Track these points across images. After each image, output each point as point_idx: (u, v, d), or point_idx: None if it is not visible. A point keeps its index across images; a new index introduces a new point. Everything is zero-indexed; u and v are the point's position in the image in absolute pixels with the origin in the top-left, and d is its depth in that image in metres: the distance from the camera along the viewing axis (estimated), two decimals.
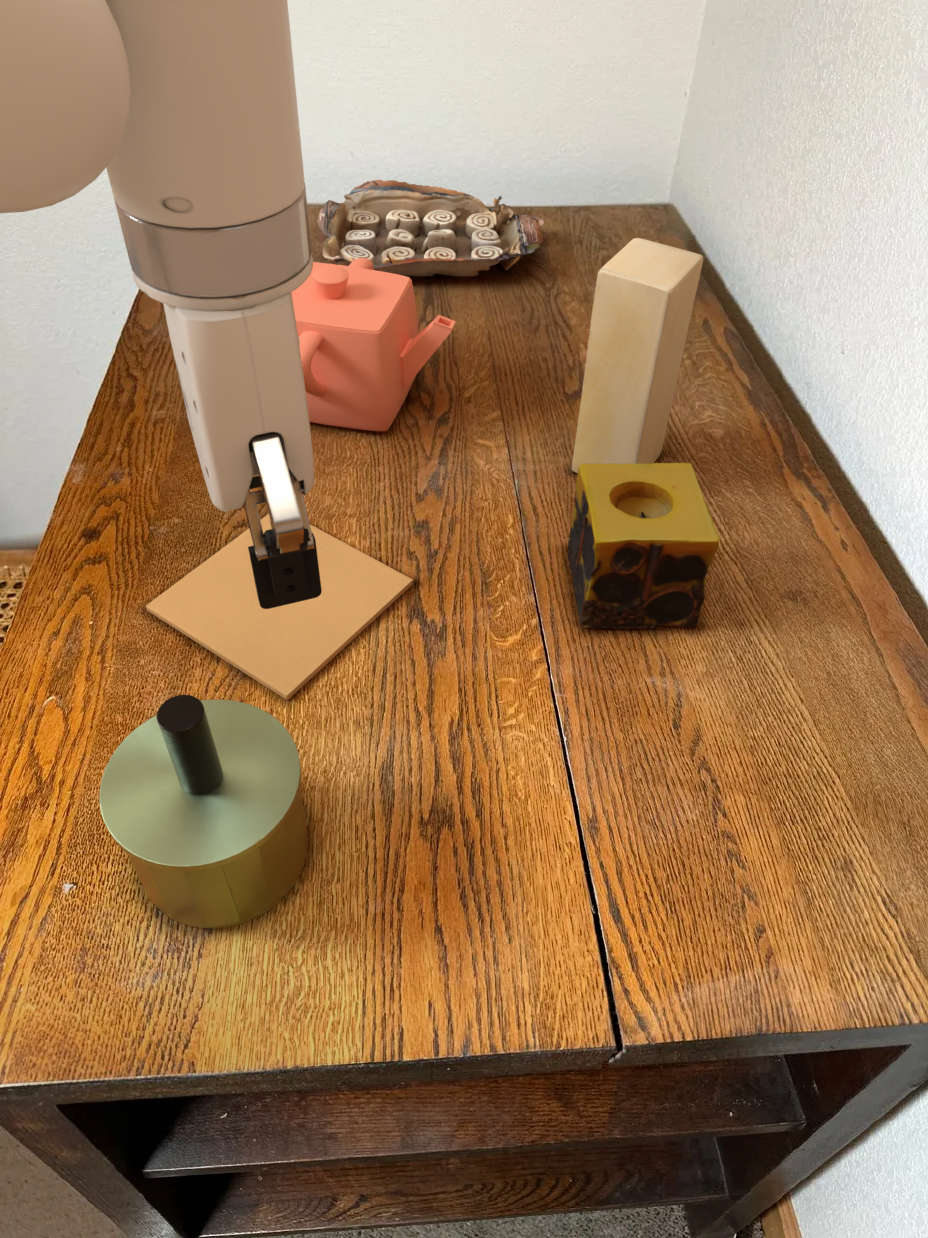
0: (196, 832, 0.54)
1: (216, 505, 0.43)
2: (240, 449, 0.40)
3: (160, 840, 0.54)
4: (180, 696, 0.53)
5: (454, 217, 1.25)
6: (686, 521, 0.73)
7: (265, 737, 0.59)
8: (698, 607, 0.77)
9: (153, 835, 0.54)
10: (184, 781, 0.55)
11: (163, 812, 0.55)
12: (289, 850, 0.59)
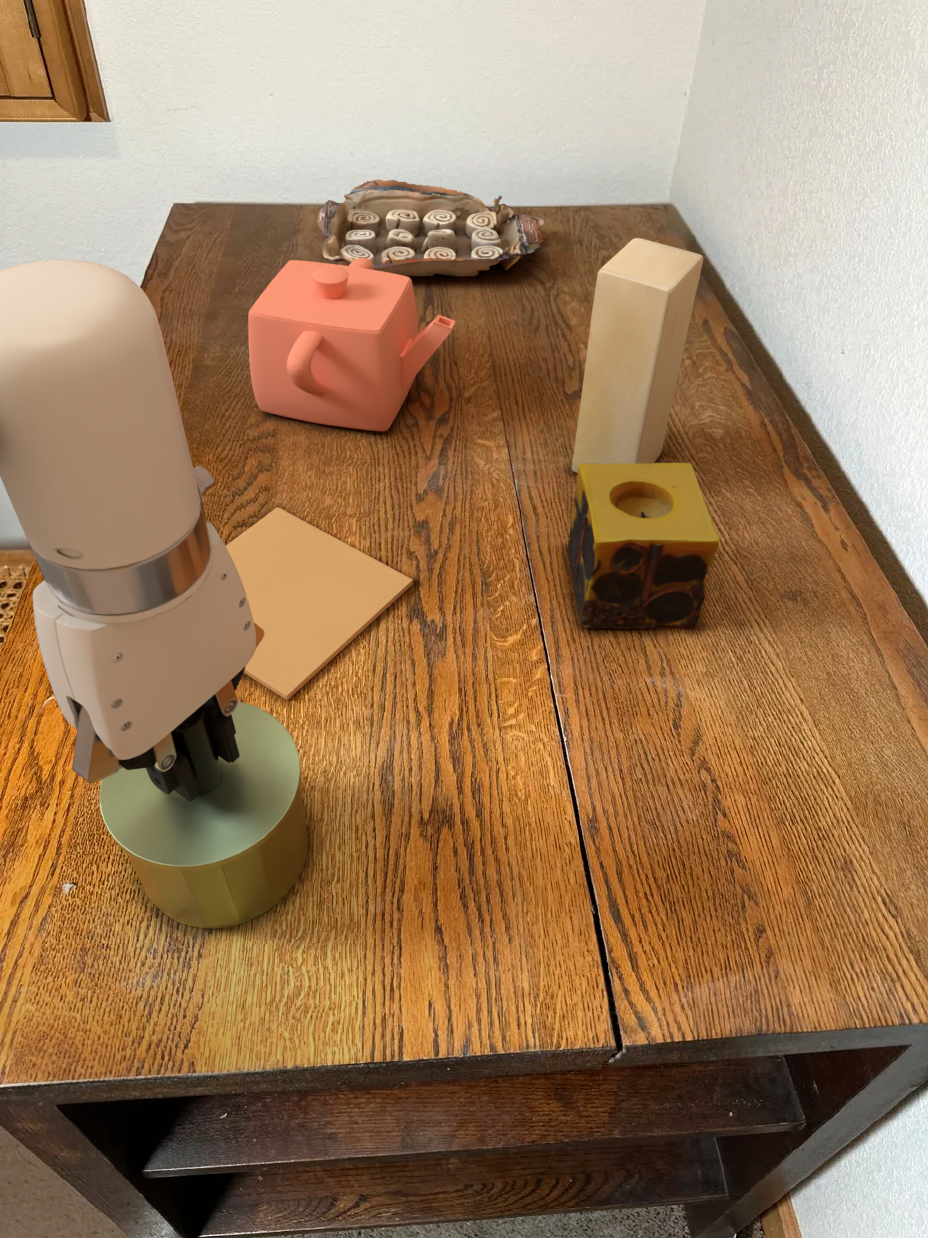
0: (196, 832, 0.54)
1: None
2: (62, 697, 0.46)
3: (160, 840, 0.54)
4: None
5: (454, 217, 1.25)
6: (686, 521, 0.73)
7: (265, 737, 0.59)
8: (698, 607, 0.77)
9: (153, 835, 0.54)
10: None
11: (163, 812, 0.55)
12: (289, 850, 0.59)
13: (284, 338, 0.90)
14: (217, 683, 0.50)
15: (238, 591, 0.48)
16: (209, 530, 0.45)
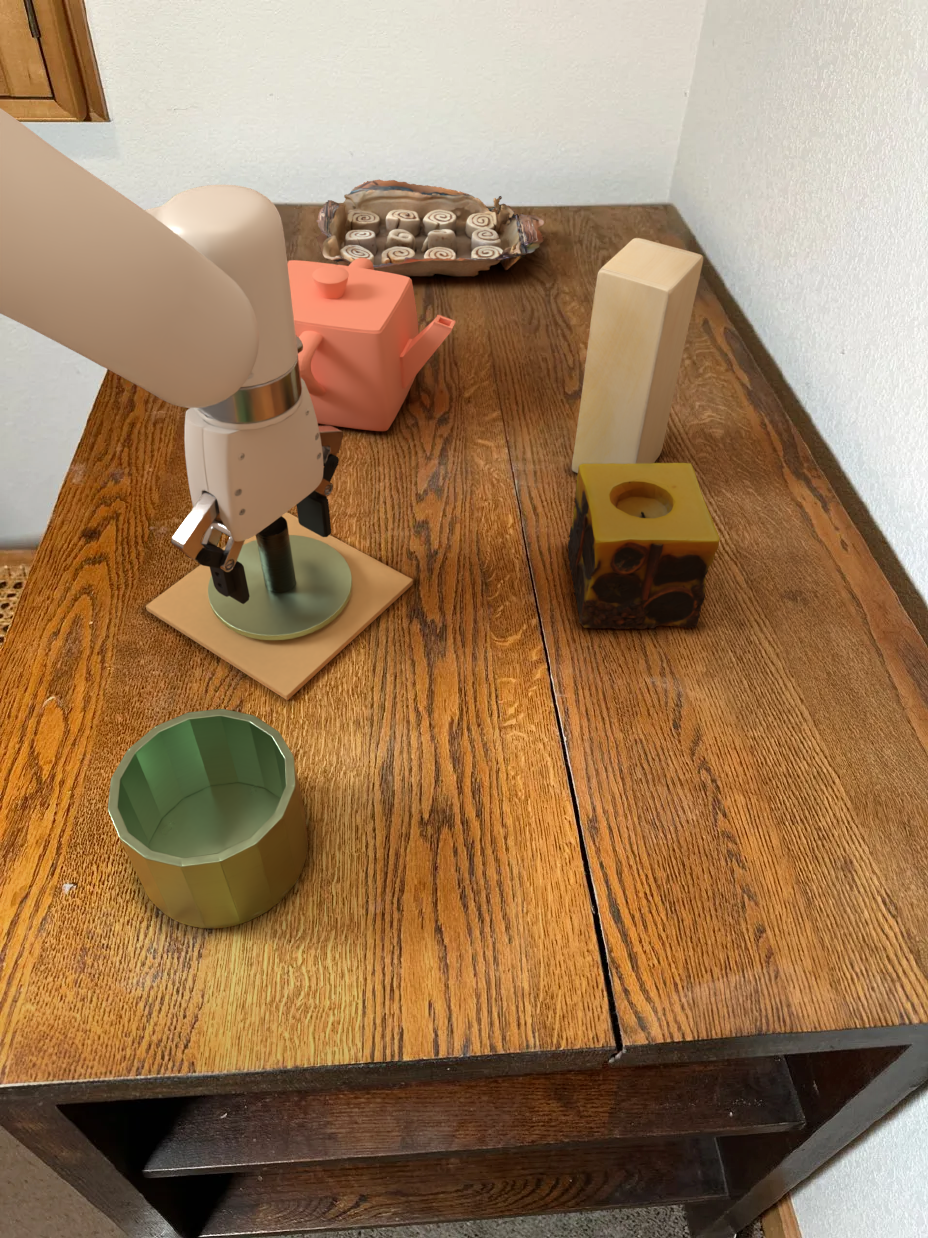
0: (279, 615, 0.76)
1: None
2: (198, 492, 0.67)
3: (254, 620, 0.76)
4: None
5: (454, 217, 1.25)
6: (686, 521, 0.73)
7: (325, 558, 0.81)
8: (698, 607, 0.77)
9: (249, 617, 0.76)
10: (270, 581, 0.77)
11: (255, 603, 0.77)
12: (289, 850, 0.59)
13: None
14: (298, 496, 0.72)
15: (315, 427, 0.69)
16: None
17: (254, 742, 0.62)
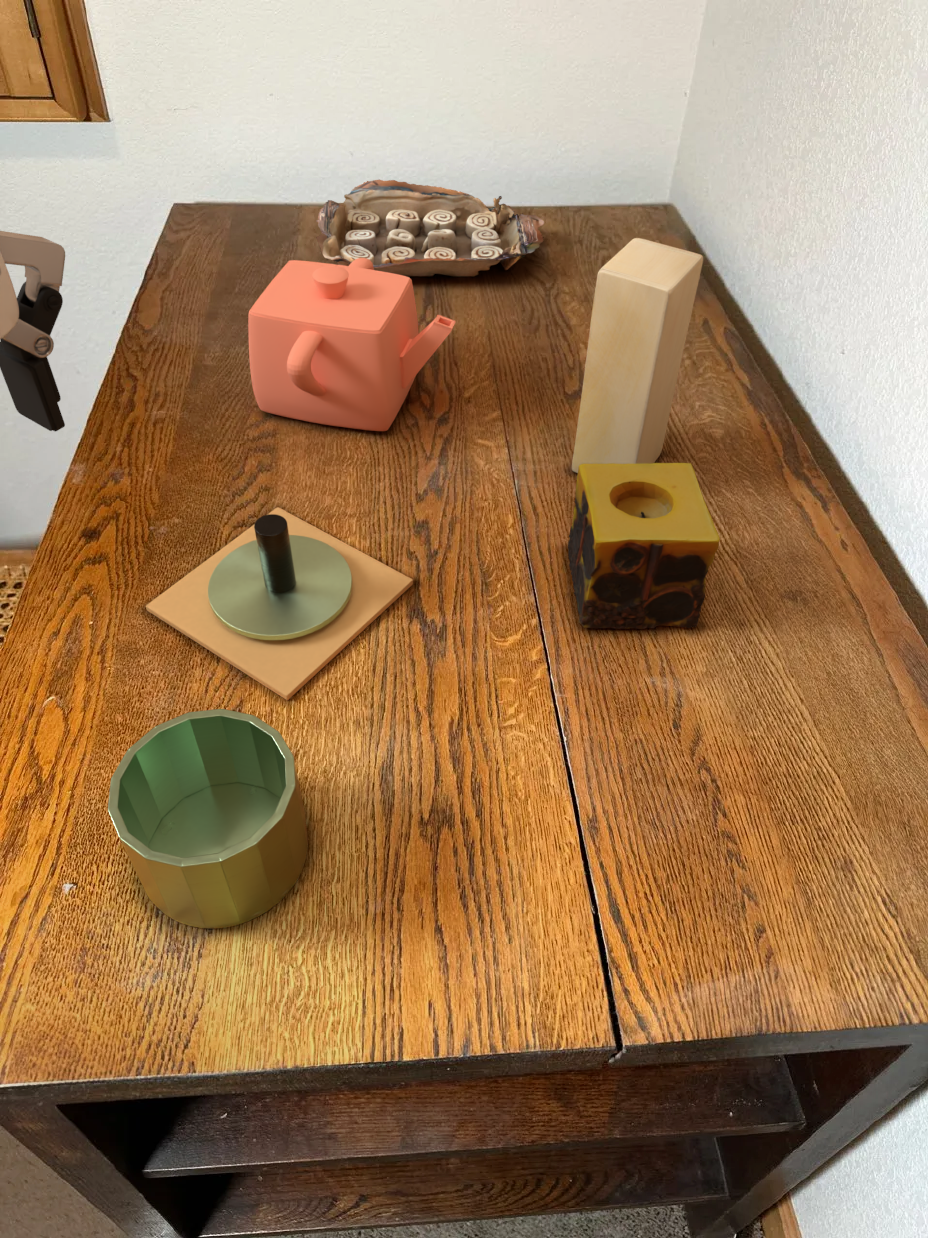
0: (279, 615, 0.76)
1: None
2: None
3: (254, 620, 0.76)
4: (270, 514, 0.75)
5: (454, 217, 1.25)
6: (686, 521, 0.73)
7: (325, 558, 0.81)
8: (698, 607, 0.77)
9: (249, 617, 0.76)
10: (270, 581, 0.77)
11: (255, 603, 0.77)
12: (289, 850, 0.59)
13: (284, 338, 0.90)
14: None
15: None
16: None
17: (254, 742, 0.62)
